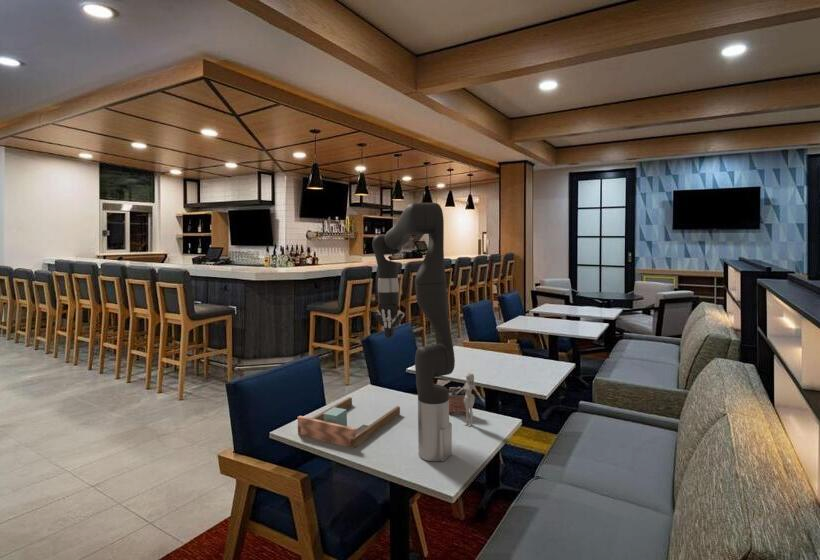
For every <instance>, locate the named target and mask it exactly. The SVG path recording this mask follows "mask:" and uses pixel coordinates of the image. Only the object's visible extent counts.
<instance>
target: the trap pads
mask: <svg viewBox="0 0 820 560" xmlns="http://www.w3.org/2000/svg"><path fill="white" fill-rule="evenodd" d="M368 426H369V425H368V424H367V425H366V424H362V425H361V426H359V427H358V428H356V434H357V433H359V432H360V431H362V430H363V429H365V428H366V427H368Z"/></svg>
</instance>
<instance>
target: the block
mask: <svg viewBox="0 0 820 560" xmlns="http://www.w3.org/2000/svg"><path fill="white" fill-rule="evenodd" d="M347 409H348V408H346V409H341V408H336V407H334V408H332V409H330V410H329V411H327V412H325V413H324V421H326V422H330V423H335V424H339V425H344V426H348V412H347Z"/></svg>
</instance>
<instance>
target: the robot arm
mask: <svg viewBox="0 0 820 560" xmlns="http://www.w3.org/2000/svg"><path fill="white" fill-rule="evenodd" d="M444 224H445V223H444V212H443V208H442V207H441V205H440V204H439V203H437V202H413V203H410V204H408V205H407V206H406V207H405V208H404V210H403V211H402V213H401V214H400V216H399V218H398V220H397V222H396V223H395V224H394V225H393V227H391V228H390V229H389V230H388V231H386V233H385V234H377V235H375V236H374V237H373V239H372V242H371V244H372V245H371V246H372V247H371V248H372V250H373V253H374V256H375V261H376V264H377V273H378V275H377V276H378V277H377V278H378V280H377V303H378V307H377V309H376V310H375V311H373V312H372V315H373V317H374V318H375V319H376V321H377V322H378V324H379V325H380V326H381V327H383V328H384V335H385V337H386V339H392V338H393V337H394V336H395V335H394V334H395V332H394V331H395V329H394V328H395V327H398V326H399V325H400V323H401V322H402V321H403V319H404V318H405V316H406V312H403V311H401V308H400V305H399V303H400V290H399V287H400V285H399V284H400V283H399V279H398V274H399V273H398V272H399V271H398V270H399V269H398V263H397V262H396V261H393V260H388V259H386V257H385V255H396V254H400V253H401V251H402V248H403V247H404V246H405V245H406V244H407V243H409V241H411V237H412V235H427V236H428V246H427V250H426V254H425V256H424V258H423V261H422V262H421V265H420V266H419V267H418V270H417V271H416V275H415V278H414V285H415V296H416V297H415V298H416V303H417V306H418V307H419V308H420V310H421V312H422V313H423V314H424V316H425V317H426V319H427V320H428V321H429V323H430V324H431V327H432V329H433V332H434V336H435V342H436V343H435V344H432V345H423V346H419V347H418V348H417V349H416V351H415V356H414V366H415V367H414V368H415V384H416V385H415V386H416V392H417V424H418V425H417V426H418V428H417V432H418V433H417V434H418V435H417V437H418V440H417V443H418V444H417V445H418V447H417V449H418V456H419V457H420V459H422V460H423V461H424V460H425V461H429V462H446V460H447V459H448V457H450V456H451V454H452V453H453V451H452V450H453V449H452V448H453V445H452V444H453V443H452V440H453V439H452V438H453V437H452V435H453V434H452V432H453V429H452V425H453V424H452V422H450V415H449V393H450V391H449V388H447V387H446V386H444V385H441V384H437V383H434V378H437V377H442V376H448V375H450V374H452V373H453V372H454V369H455V362H456V361H455V353H454V352H455V351H454V344H453V337H452V331H451V325H450V316H449V307H448V305H449V304H448V289H447V288H448V287H447V277H446V267H445V253H444V252H445V251H444V246H445V245H444V244H445V241H444V240H445V239H444V237H445V236H444V233H445V231H444V229H445V228H444Z"/></svg>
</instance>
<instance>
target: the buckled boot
mask: <svg viewBox="0 0 820 560" xmlns="http://www.w3.org/2000/svg"><path fill="white" fill-rule="evenodd" d="M461 388H462V387H461V386H458V387H455V386H454V387H453V386H452V387H449V388H448V391H449V416H456V417H457V416H458V417H461V416H466V407H465V404H464V397H465V395H466V390H465V389H463V390H461V391H460V392H459V393H458V394H456V393H457V392H458V391H459V390H460V389H461ZM455 394H456V395H455Z"/></svg>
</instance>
